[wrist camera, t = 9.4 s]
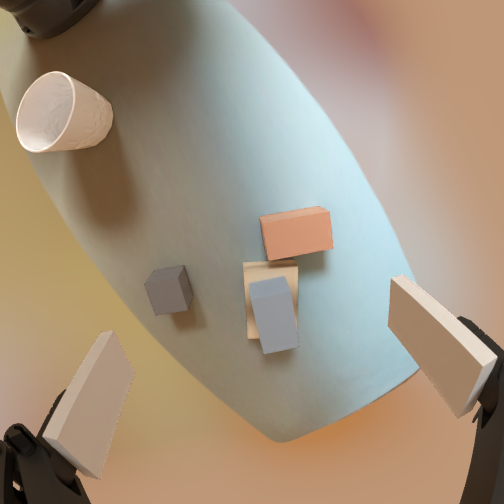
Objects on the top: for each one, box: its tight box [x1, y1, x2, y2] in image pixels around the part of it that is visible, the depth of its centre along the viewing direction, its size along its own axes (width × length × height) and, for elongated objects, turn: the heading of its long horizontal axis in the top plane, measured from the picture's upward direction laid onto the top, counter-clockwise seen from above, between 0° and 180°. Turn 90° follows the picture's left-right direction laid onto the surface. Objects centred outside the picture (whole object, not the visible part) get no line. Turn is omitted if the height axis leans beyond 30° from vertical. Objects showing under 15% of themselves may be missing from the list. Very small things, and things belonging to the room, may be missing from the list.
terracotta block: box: [259, 206, 333, 261], centre depth 30 cm, size 7×4×4 cm, turn 100°
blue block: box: [249, 276, 299, 354], centre depth 30 cm, size 7×4×4 cm, turn 11°
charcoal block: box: [144, 265, 193, 315], centre depth 31 cm, size 4×4×4 cm
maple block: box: [243, 259, 298, 339], centre depth 33 cm, size 9×6×3 cm, turn 3°
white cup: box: [16, 71, 114, 153], centre depth 22 cm, size 8×8×10 cm
